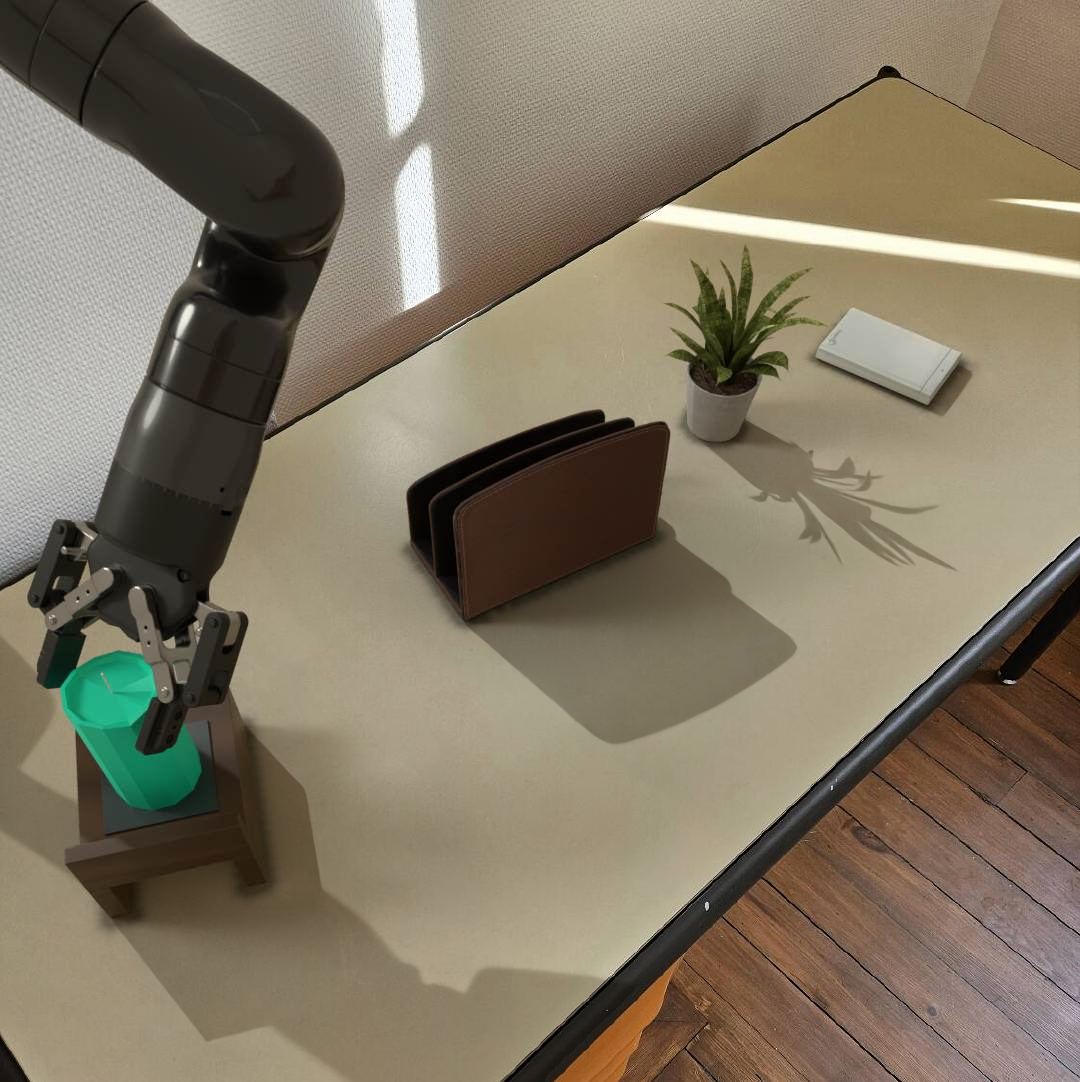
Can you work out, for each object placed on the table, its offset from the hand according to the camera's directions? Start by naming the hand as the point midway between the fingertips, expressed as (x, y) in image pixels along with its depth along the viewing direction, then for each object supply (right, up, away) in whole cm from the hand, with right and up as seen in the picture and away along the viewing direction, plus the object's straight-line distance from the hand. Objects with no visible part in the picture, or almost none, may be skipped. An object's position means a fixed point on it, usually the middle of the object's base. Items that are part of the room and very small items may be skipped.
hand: (100, 718), depth 66 cm
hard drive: (+63, +37, +43) cm, 85 cm away
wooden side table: (0, -7, +13) cm, 15 cm away
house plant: (+46, +29, +38) cm, 66 cm away
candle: (+1, -4, +8) cm, 9 cm away
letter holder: (+27, +16, +29) cm, 42 cm away
